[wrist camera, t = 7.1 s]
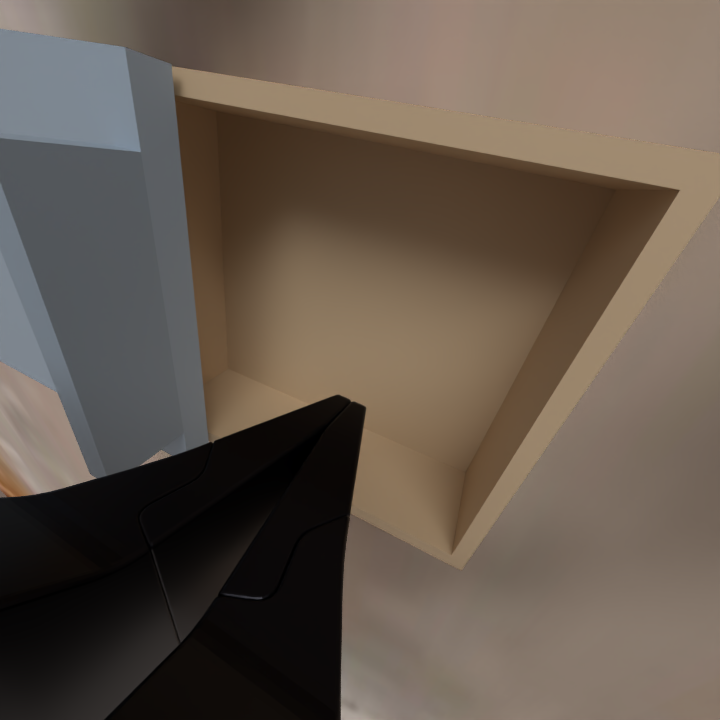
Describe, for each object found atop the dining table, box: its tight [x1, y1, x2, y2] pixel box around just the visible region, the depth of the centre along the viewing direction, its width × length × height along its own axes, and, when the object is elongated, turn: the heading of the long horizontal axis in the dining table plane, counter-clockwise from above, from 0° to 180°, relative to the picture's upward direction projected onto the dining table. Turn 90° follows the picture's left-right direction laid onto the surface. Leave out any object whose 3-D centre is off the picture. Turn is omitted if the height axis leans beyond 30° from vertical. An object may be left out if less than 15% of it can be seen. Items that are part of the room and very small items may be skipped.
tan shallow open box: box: [172, 66, 720, 571], centre depth 13 cm, size 16×14×5 cm
